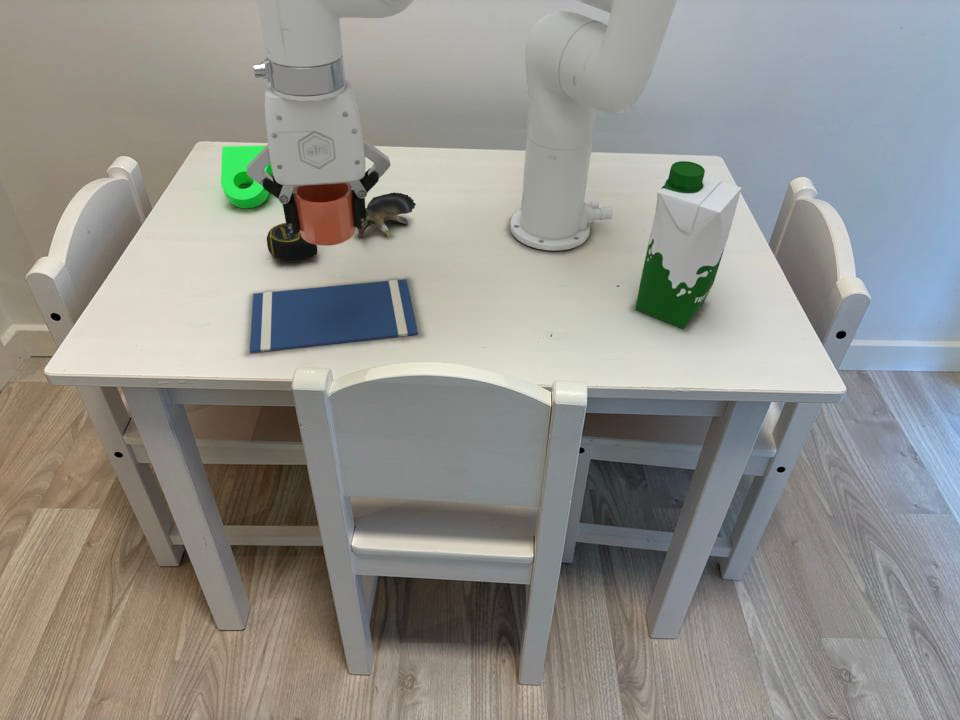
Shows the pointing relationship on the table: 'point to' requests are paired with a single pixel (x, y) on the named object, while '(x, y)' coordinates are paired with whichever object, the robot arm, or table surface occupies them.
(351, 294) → the towel
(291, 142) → the robot arm
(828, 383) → the table surface
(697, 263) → the milk carton
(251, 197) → the bracket
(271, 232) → the tape measure
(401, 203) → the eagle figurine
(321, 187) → the orange plastic cup
